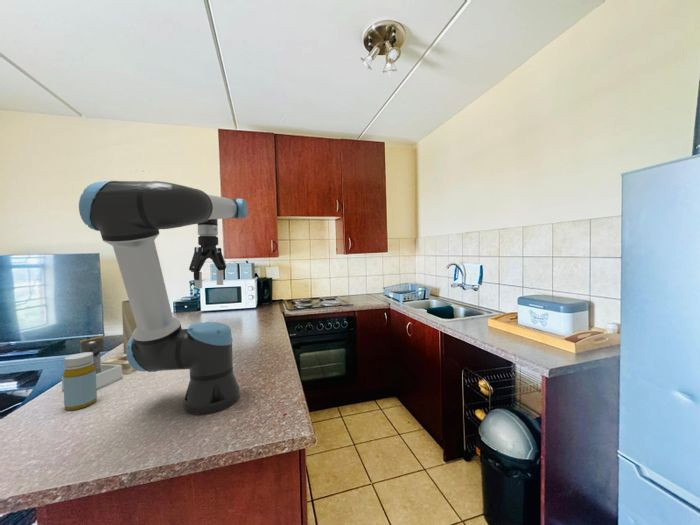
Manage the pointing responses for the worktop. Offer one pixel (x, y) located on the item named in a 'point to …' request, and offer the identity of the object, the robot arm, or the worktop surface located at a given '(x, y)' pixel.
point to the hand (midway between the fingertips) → (209, 286)
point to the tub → (106, 375)
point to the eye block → (121, 361)
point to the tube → (127, 323)
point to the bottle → (79, 381)
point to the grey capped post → (93, 350)
